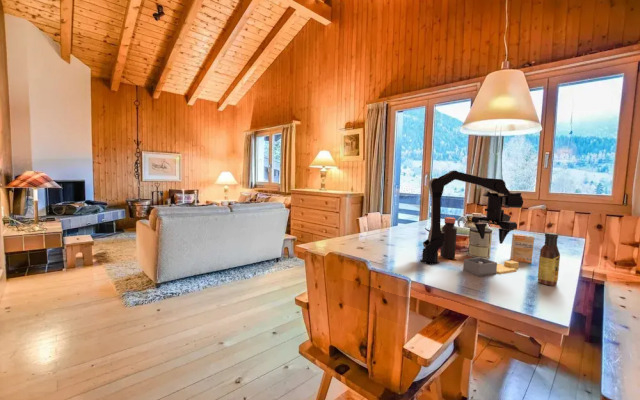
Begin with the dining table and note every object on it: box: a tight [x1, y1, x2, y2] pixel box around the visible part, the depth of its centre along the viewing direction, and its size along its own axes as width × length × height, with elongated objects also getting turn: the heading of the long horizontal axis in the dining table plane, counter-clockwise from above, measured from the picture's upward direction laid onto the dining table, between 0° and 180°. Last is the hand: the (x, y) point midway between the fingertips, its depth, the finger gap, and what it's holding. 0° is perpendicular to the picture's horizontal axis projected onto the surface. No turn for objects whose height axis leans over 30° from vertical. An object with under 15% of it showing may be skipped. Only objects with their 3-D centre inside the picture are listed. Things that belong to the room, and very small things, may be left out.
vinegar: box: [440, 216, 458, 260], centre depth 148 cm, size 7×7×20 cm
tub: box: [462, 257, 498, 278], centre depth 127 cm, size 10×8×5 cm
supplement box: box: [509, 233, 535, 264], centre depth 145 cm, size 8×5×13 cm, turn 68°
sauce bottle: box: [537, 232, 561, 287], centre depth 116 cm, size 7×6×20 cm
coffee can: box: [467, 226, 493, 260], centre depth 153 cm, size 10×10×14 cm
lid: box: [496, 259, 520, 275], centre depth 133 cm, size 16×8×3 cm, turn 112°
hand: (491, 241), depth 134 cm, fingers open, 9 cm apart
